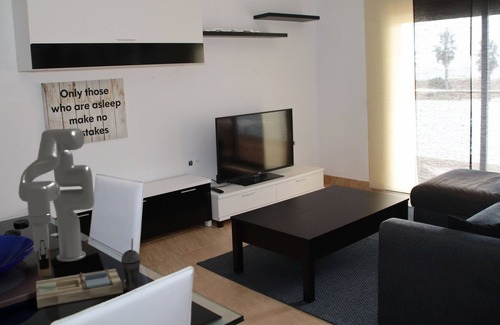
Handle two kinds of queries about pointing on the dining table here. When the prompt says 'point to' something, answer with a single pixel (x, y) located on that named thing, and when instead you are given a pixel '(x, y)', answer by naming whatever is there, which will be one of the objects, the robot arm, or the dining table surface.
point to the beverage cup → (131, 268)
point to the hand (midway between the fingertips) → (44, 266)
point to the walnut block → (44, 271)
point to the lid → (97, 279)
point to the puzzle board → (74, 289)
